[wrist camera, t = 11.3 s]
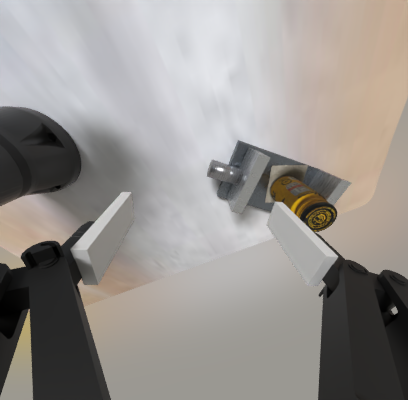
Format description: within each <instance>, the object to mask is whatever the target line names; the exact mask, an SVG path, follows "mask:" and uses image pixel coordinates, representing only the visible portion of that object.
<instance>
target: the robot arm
mask: <svg viewBox="0 0 408 400" xmlns="http://www.w3.org/2000/svg"><path fill="white" fill-rule="evenodd" d="M80 169H81V161H80V156H79V152H78V150H77V147H76V145H75V144H74V142H73V140H72V139H71V137H70V136H69V135H68V134H67V132H66V131H65V130H64V129H63V128H62V127H61V126H60V125H59V124H57V123H56V122H55V121H54V120H52V119H51V118H49V117H48V116H46V115H44V114H42V113H40V112H38V111H35V110H32V109H28V108H23V107H0V206H2V205H4V204H6V203H8V202H10V201H13V200H15V199H17V198H19V197H22V196H25V195H33V194H41V193H49V192H55V191H58V190H61V189H63V188H65V187H67V186H69V185H71V184H72V183H73V182H74V181H75V180H76V179H77V178H78V176H79V173H80ZM134 219H135V216H134V208H133V199H132V192H122V193H121V194H120V195H119V196H118V197H117V198H116V199H115V200H114V202H113V203H112V204H111V205H110V206H109V207H108V208H107V209H106V210H105V212H104V213H103V214H102V215H101V216H100V217H99V218H98V219H97V220H96V222H92V221H89V222H87V223H86V224H84V225H82V226H81V227H80V228H79V229H78V230H77V231H76V232H75V233H74V234H73V235H72V237H70V238H69V239H68V240H67V241H66V242H65V243H64V244H63V245H62V246H60V244H59V243H58V242H56V241H45V242H41V243H38V244H36V245H33V246H31V247H30V248H28V249H27V250H26V251H24V252H23V253H22V256H21V259H22V261H23V262H24V264H25V265H26V267H21V268H17V269H12V270H10V268H9V267H8V266H7V265H6V264H1V263H0V395H1V392H2V389H3V386H4V383H5V380H6V377H7V374H8V371H9V368H10V364H11V361H12V358H13V355H14V352H15V349H16V346H17V343H18V340H19V337H20V334H21V331H22V328H23V325H24V321H25V319H26V316H27V313H28V310H29V309H30V323H31V324H30V327H31V353H32V378H33V400H111V398H110V395H109V391H108V388H107V384H106V381H105V378H104V374H103V371H102V367H101V364H100V360H99V357H98V354H97V350H96V347H95V343H94V340H93V336H92V333H91V330H90V326H89V323H88V320H87V316H86V312H85V309H84V306H83V302H82V299H81V295H80V292H79V289H78V286H77V284H78V283H79V281H80V280H81V278H82V280H83V283H84V285H98V284H99V283H100V281H101V279H102V277H103V275H104V273H105V272H106V270H107V268H108V266H109V264H110V263H111V261H112V259H113V257H114V255H115V254H116V252H117V250H118V248H119V246H120V244H121V243H122V241H123V239H124V237H125V235H126V234H127V232H128V230H129V228H130V226H131V225H132V223H133V221H134ZM267 226H268V228H269V229H270V231H271V232H272V234H273V235H274V237H275V238H276V240H277V241H278V243H279V244H280V246H281V247H282V249H283V250H284V252H285V253H286V255H287V256H288V258H289V259H290V261H291V262H292V264H293V265H294V267H295V268H296V269H297V271H298V272H299V274H300V275H301V277H302V278H303V280H304V281H305V283H306V284H307V286H318V285H319V284H320V282H321V281H322V280H323V281H324V283H325V284H326V285H325V287H324V288H323V289H322V291H321V292H320V294H319V296H321V295H322V294H323V311H322V333H321V354H320V374H319V394H318V400H408V280H407V279H406V278H405V277H404V276H402V275H400V274H398V273H396V272H393V271H390V270H383V271H382V272H381V273H380V274H379V275H378V274H374V273H370V272H369V271H368V270H367V269H366V268H364V267H363V266H361V265H360V264H358V263H356V262H354V261H351V260H345V259H344V258H343V257H342V256H341V255H340V254H339V253H338V252H337V251H336V250H335V249H334V248H332V247H331V246H330V245H329V244H328V243H327V242H326V241H325V240H324V239H323V238H322V237H321V236H320V235H318V234H317V233H315V232H314V231H312V230H311V229H310V228H309V227H308V226H306V225H305V224H304V223H303V222H302V221H301V220H300V219H299V218H298V217H297V216H296V215H295V214H294V213H293V212H292V211H291V210H290V209H289V208H288V207H287V206H286V205H285V204H284V203H283V202H275V203H274V206H273V209H272V211H271V214H270V217H269V220H268V223H267ZM395 306H396V308H397V310H398V313H397V314H395V315H394V314H393V313H392V311H391V309H392V308H393V307H395Z"/></svg>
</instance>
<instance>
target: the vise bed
mask: <svg viewBox="0 0 408 400" xmlns="http://www.w3.org/2000/svg"><path fill="white" fill-rule="evenodd" d="M248 147H249V148H252V149H255V150H257V151H259V152H261V153H263V154H265V155H267V156H268V157H270V160H269V162H268V164H267V166H266V168H265V170H264V171H263V173H262V175H261V177H260V179H259V181H258V183H257V185H256V187H255V189H254V191H253V193H252V195H251V197H250V199H249V201H248V203H247V205H250V206H254V207H257V208H261V209H264V210H268V211H272V209H273V206H274V203H275V202H270V203H265V199H266V194H267V188H268V184H269V179H270V173H271V168H272V166H278V165H306V164H303V163H300V162H297V161H295V160H292V159H289V158H286V157H283V156H281V155H278V154H275V153H272V152H270V151H267V150H264V149H261V148H258V147H256V146H253V145H250V144H247V143H244V142H242V141H239V140H238V142H237V145H236V147H235V150H234V152H233V155H232V157H231V160H230V162H229V165H230V166H233V167H236V168H240V166H241V163H242V161H243V159H244V157H245V154H246V152H247V150H248ZM303 183H304V184H305V185H307V186H309V187H310V188H312V189H313V190H315V191H317V192H318V193H320V194H321V195H323V196H324V197H325V199H326V200H327V201H328V202H329V203H330V204H332V205H334V204H335V203H336V202H337V200H338V199H339V198H340V197H341V195H342V194H343V193H344V192H345V190H346V189H347V188H348V186H349V185H350V184H351V182H348V181H346V180H344V179H341V178H339V177H337V176H334V175H332V174H330V173H327V172H325V171H322V170H320V169H317V168H314V167H311V166H308V167H307V170H306V173H305V176H304V180H303ZM231 186H232V184H230V183H227V182H224V181H222V182H221V184H220V187H219V189H218V192H217V196H219V197H223V198H226V199H227V196H228V193H229V191H230V189H231Z"/></svg>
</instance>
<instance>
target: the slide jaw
mask: <svg viewBox="0 0 408 400" xmlns="http://www.w3.org/2000/svg"><path fill="white" fill-rule="evenodd" d="M269 160H270V157H268V156H267V155H265V154H263V153H261V152H259V151H257V150H255V149H252V148H249V147H248V150H247V152H246V154H245V157H244V159H243V161H242V163H241V166H240V168H236V167H233V166H230V165H227V164H224V163H221V162H218V161H215V160H212V161H211V163H210V165H209V168H208V172H207V177H211V178H214V179H217V180H221V181H224V182H227V183H230V184H232V186H231V189H230V191H229V193H228V196H227V199H228V202H229V205H230V207H231V210H232V212H236V213H240V214H242V213H243V211H244V209H245V207H246V205H247V203H248V201H249V199H250V197H251V195H252V193H253V191H254V189H255V187H256V185H257V183H258V181H259V179H260V177H261V175H262V173H263V171H264V170H265V168H266V166H267V164H268V162H269Z"/></svg>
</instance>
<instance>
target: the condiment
mask: <svg viewBox="0 0 408 400" xmlns="http://www.w3.org/2000/svg"><path fill="white" fill-rule="evenodd" d="M307 167H308V165H278V166H272V168H271V173H270V179H269V184H268V188H267V194H266V199H265V203H270V202H283V203H284V204H285V205H286V206H287V207H288V208H289V209H290V210H291V211H292V212H293V213H294V214H295V215H296V216H297V217H298V218H299V219H300V220H301V221H302V222H303V223H304V224H305V225H306V226H308V227H309V228H310V229H311V230H312V231H314V232H319V231H322V230H324V229H326V228H328V227H329V226H331V225H332V224H333V222H334V221H335V219H336V217H337V210H336V209H335V207H334V206H333V205H332V204H330V203H329V202H328V201H327V200H326V199H325V197H324V196H323V195H321V194H320V193H318V192H317V191H315V190H313V189H312V188H310V187H309V186H307V185H305V184H304V183H303V180H304V176H305V173H306V170H307Z"/></svg>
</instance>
